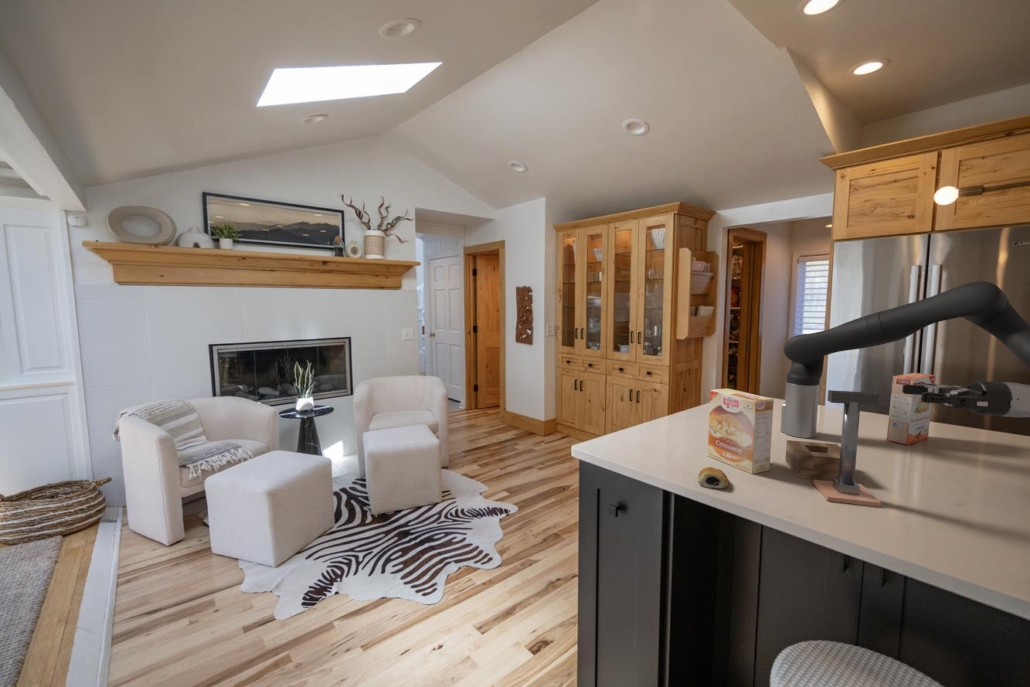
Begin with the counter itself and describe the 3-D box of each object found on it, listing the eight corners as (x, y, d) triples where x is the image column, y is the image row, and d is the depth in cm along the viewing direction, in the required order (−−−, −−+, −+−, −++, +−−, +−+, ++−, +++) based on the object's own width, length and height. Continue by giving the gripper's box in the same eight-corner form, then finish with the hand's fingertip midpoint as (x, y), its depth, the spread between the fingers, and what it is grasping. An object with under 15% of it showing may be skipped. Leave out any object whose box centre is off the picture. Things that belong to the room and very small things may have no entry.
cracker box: (908, 446, 139) (915, 378, 137) (885, 440, 144) (891, 375, 142) (930, 439, 146) (936, 374, 143) (906, 434, 151) (912, 371, 149)
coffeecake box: (706, 456, 132) (709, 389, 129) (724, 452, 134) (727, 387, 132) (751, 474, 118) (755, 400, 116) (770, 470, 121) (774, 398, 119)
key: (826, 491, 105) (833, 393, 103) (820, 484, 109) (827, 389, 107) (872, 496, 103) (880, 395, 100) (864, 489, 106) (872, 391, 104)
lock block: (798, 477, 116) (799, 454, 115) (785, 460, 127) (786, 440, 127) (853, 483, 112) (855, 459, 112) (835, 465, 124) (836, 444, 123)
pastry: (699, 473, 119) (699, 459, 119) (727, 477, 117) (728, 463, 116) (697, 487, 111) (698, 472, 111) (728, 492, 108) (729, 476, 108)
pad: (827, 501, 103) (827, 496, 103) (813, 483, 112) (813, 479, 112) (880, 507, 100) (880, 502, 100) (860, 488, 109) (861, 484, 109)
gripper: (982, 376, 106) (899, 371, 111) (1029, 389, 93) (931, 383, 98) (978, 407, 107) (895, 401, 112) (1023, 425, 94) (926, 417, 99)
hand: (912, 392), depth 105 cm, fingers open, 8 cm apart
